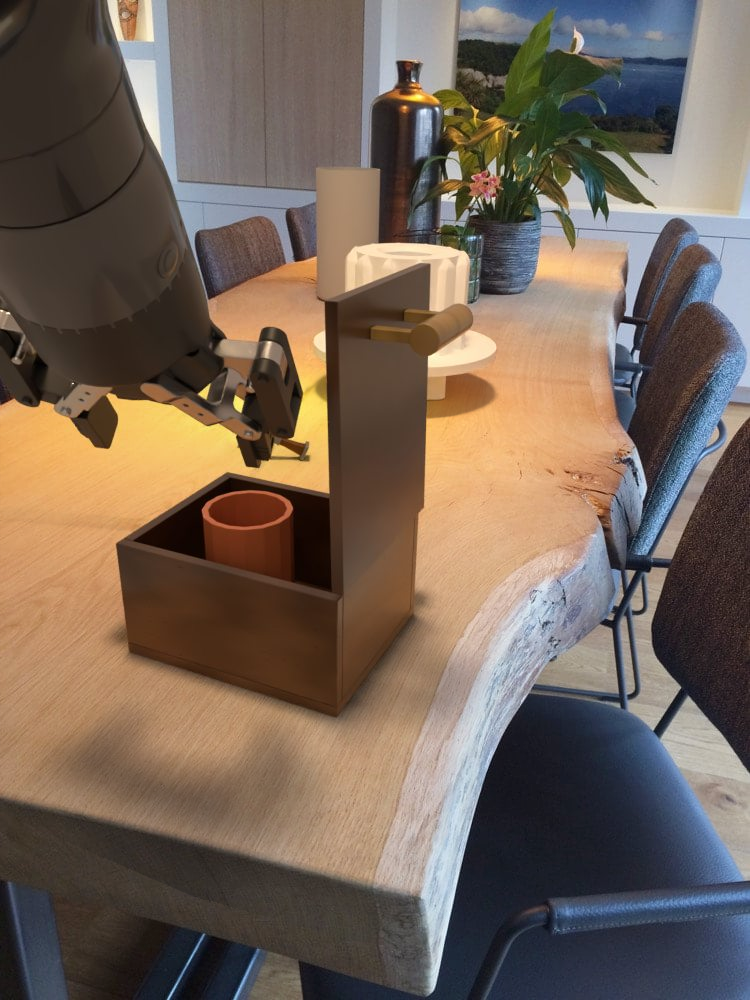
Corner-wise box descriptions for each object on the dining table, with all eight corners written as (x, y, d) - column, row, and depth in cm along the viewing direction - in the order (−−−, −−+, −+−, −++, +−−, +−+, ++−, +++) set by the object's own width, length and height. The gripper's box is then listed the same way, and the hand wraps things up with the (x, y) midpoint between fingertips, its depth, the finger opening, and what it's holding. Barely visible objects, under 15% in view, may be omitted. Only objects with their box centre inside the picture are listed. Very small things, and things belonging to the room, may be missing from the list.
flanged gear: (323, 422, 103) (323, 267, 95) (306, 366, 126) (305, 236, 118) (515, 416, 107) (530, 267, 99) (466, 363, 130) (475, 237, 121)
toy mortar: (228, 446, 93) (243, 411, 91) (294, 473, 95) (310, 439, 93) (226, 452, 91) (241, 417, 89) (293, 480, 93) (309, 445, 91)
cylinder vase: (304, 296, 172) (303, 167, 162) (349, 289, 180) (351, 166, 169) (343, 307, 164) (344, 171, 153) (389, 299, 172) (393, 170, 161)
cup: (199, 636, 60) (190, 525, 56) (223, 591, 65) (216, 487, 62) (284, 644, 59) (281, 532, 55) (301, 597, 65) (300, 493, 61)
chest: (128, 651, 59) (115, 543, 56) (232, 566, 71) (227, 471, 67) (336, 717, 53) (337, 601, 50) (413, 613, 65) (418, 512, 61)
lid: (323, 300, 42) (415, 308, 40) (419, 262, 54) (494, 267, 52) (331, 593, 50) (408, 611, 48) (414, 505, 61) (479, 517, 59)
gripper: (288, 186, 32) (319, 401, 47) (-59, 150, 33) (78, 371, 48) (248, 346, 29) (295, 522, 44) (-132, 301, 30) (38, 487, 45)
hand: (181, 443), depth 46 cm, fingers open, 8 cm apart
